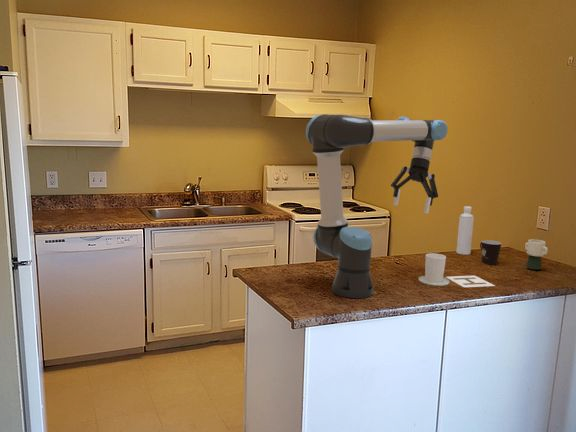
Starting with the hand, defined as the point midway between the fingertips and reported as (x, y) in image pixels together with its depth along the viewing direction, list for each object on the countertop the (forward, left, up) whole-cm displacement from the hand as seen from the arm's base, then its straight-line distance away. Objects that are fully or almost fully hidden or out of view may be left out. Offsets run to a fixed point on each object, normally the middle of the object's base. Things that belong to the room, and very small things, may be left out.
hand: (410, 209), depth 210 cm
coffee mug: (+50, +14, -28) cm, 59 cm away
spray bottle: (+48, +32, -28) cm, 64 cm away
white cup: (+8, -10, -27) cm, 30 cm away
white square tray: (+23, -12, -28) cm, 38 cm away
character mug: (+64, +1, -28) cm, 69 cm away
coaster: (+8, -10, -28) cm, 30 cm away
